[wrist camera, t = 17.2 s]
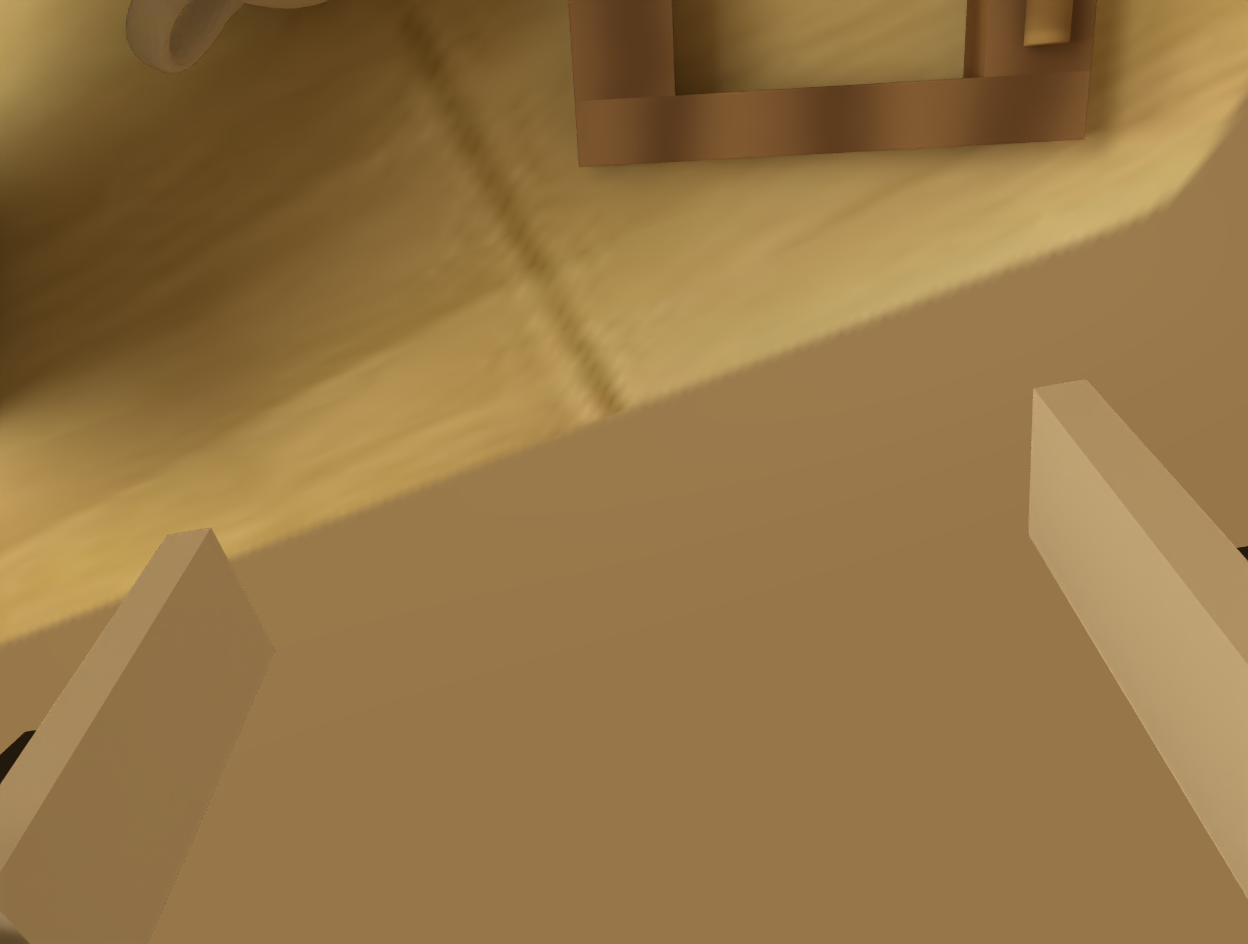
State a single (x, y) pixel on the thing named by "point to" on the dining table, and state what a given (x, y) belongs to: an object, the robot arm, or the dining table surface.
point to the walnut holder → (828, 91)
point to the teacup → (184, 28)
